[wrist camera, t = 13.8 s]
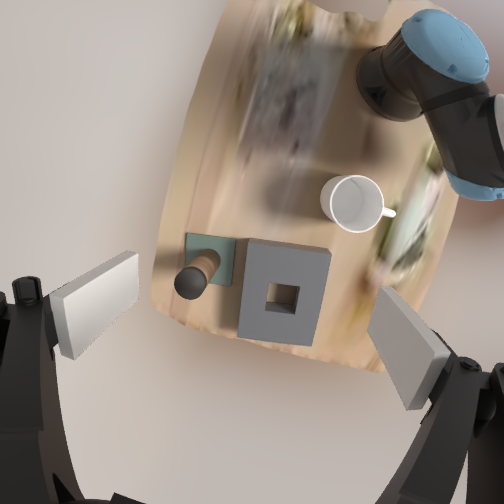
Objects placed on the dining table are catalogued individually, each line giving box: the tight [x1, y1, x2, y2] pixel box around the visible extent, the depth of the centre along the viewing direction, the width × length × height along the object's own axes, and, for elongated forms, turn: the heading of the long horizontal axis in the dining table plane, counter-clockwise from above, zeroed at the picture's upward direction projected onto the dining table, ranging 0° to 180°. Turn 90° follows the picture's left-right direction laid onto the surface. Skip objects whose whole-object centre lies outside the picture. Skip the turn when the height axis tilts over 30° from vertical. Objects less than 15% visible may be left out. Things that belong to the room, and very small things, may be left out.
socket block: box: [237, 238, 332, 346], centre depth 52 cm, size 18×14×4 cm
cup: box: [320, 175, 396, 233], centre depth 44 cm, size 8×12×10 cm
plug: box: [174, 249, 221, 300], centre depth 47 cm, size 4×4×13 cm
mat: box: [185, 233, 236, 286], centre depth 53 cm, size 9×9×1 cm
